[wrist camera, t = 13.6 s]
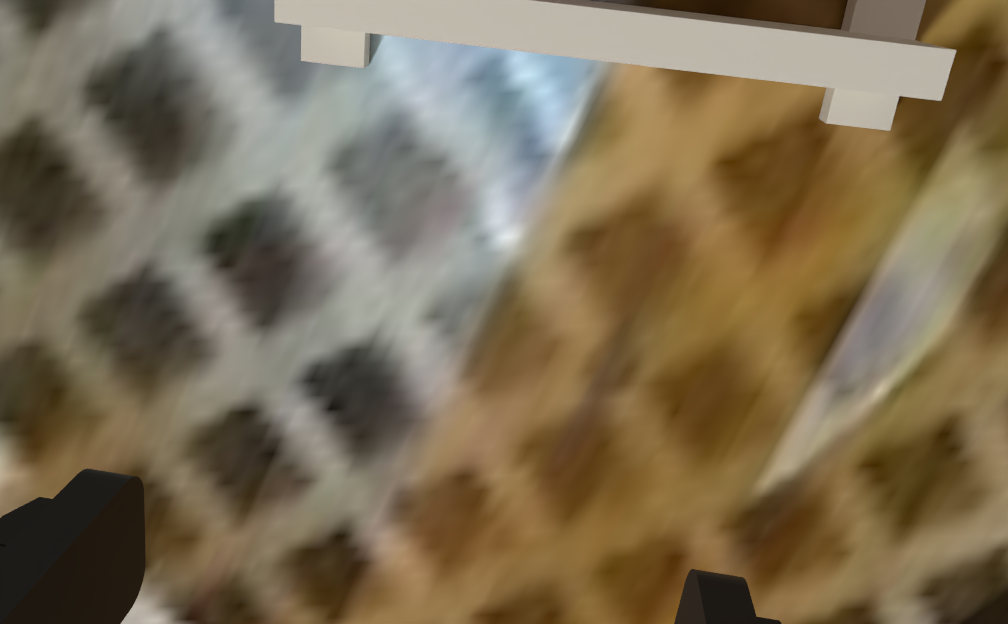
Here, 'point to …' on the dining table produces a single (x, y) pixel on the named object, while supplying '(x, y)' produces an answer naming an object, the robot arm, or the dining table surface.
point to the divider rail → (660, 43)
